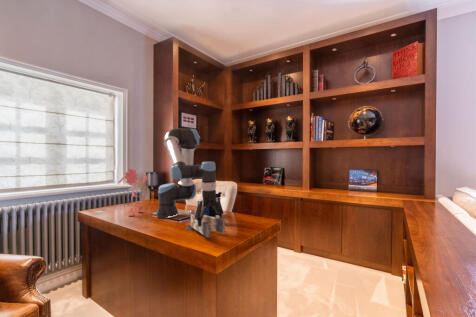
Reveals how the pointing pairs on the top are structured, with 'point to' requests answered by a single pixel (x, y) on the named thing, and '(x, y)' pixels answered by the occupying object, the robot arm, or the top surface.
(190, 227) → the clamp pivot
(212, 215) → the chess piece
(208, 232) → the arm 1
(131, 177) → the figurine
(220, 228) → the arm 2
